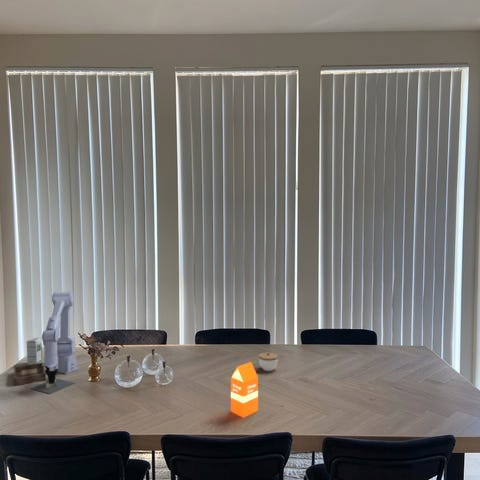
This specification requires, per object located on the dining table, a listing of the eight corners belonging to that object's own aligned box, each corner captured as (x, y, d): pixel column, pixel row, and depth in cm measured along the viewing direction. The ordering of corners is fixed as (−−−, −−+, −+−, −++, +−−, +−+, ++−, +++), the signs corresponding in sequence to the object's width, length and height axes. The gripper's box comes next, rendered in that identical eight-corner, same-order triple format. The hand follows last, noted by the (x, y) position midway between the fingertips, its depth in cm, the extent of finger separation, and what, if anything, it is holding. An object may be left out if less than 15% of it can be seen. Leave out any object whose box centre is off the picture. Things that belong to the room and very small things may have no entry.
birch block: (55, 383, 191) (55, 373, 191) (56, 386, 187) (56, 376, 187) (45, 384, 189) (45, 375, 189) (46, 388, 185) (46, 378, 185)
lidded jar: (257, 371, 205) (256, 354, 205) (260, 365, 216) (260, 348, 216) (276, 373, 203) (276, 356, 203) (279, 366, 213) (279, 350, 213)
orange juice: (230, 411, 160) (230, 364, 160) (245, 404, 166) (245, 359, 166) (243, 417, 154) (243, 369, 154) (258, 410, 161) (258, 364, 160)
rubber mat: (74, 383, 191) (74, 382, 191) (49, 394, 179) (49, 393, 179) (55, 379, 197) (55, 378, 197) (30, 389, 185) (30, 388, 185)
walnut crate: (43, 368, 213) (42, 362, 213) (45, 380, 196) (45, 373, 196) (14, 373, 206) (14, 367, 206) (14, 386, 189) (14, 379, 189)
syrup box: (36, 365, 218) (36, 340, 218) (26, 365, 219) (26, 340, 218) (42, 361, 224) (41, 337, 224) (32, 361, 224) (32, 337, 224)
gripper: (41, 351, 192) (41, 377, 192) (42, 359, 179) (42, 387, 180) (56, 348, 195) (57, 374, 196) (58, 356, 183) (59, 384, 183)
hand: (51, 380), depth 188 cm, fingers open, 7 cm apart
